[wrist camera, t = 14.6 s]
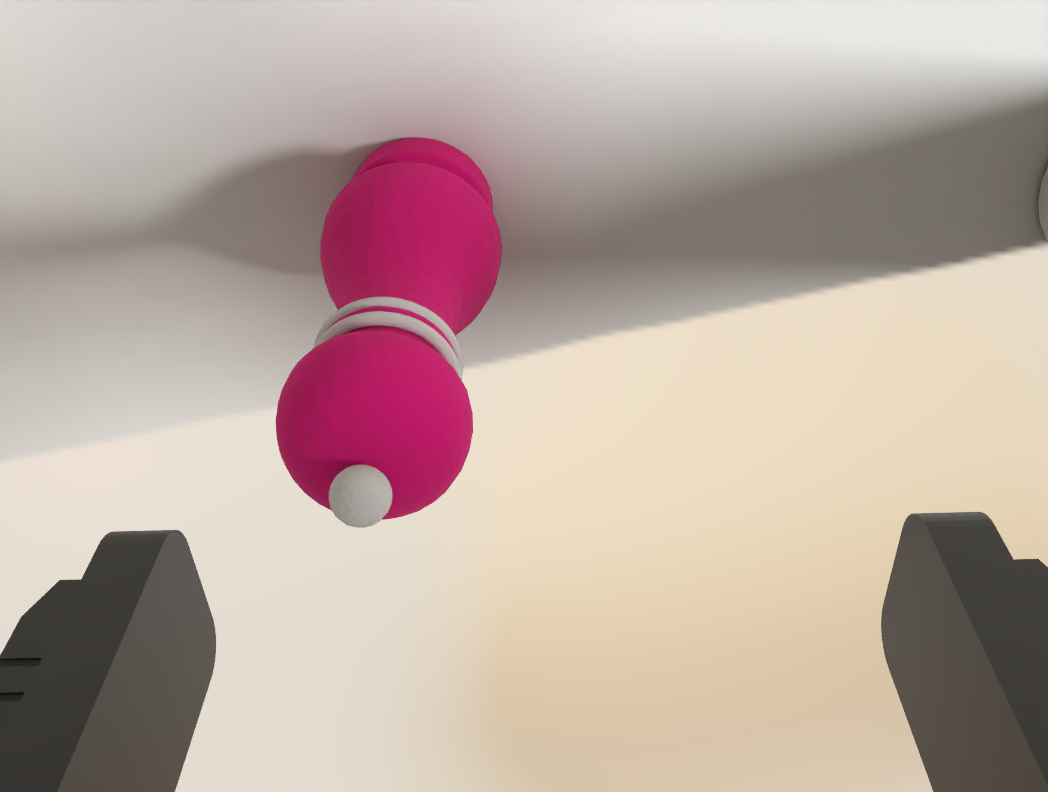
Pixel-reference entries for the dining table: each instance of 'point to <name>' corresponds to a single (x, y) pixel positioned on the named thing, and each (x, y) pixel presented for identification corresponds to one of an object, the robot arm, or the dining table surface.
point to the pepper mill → (393, 335)
